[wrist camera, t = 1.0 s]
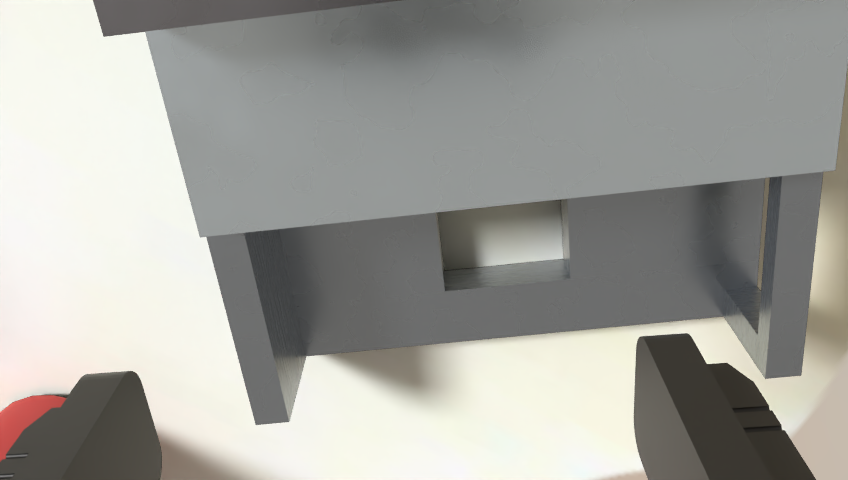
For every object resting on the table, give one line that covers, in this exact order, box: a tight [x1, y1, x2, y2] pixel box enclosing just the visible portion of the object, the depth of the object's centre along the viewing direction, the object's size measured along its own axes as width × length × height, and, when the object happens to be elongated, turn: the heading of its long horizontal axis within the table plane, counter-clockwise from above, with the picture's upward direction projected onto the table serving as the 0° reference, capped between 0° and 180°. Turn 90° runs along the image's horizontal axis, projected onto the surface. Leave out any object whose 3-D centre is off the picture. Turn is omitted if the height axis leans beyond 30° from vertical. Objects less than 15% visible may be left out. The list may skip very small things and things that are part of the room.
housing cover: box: [93, 0, 848, 237], centre depth 23 cm, size 9×21×4 cm, turn 97°
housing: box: [207, 172, 823, 425], centre depth 30 cm, size 18×22×7 cm
